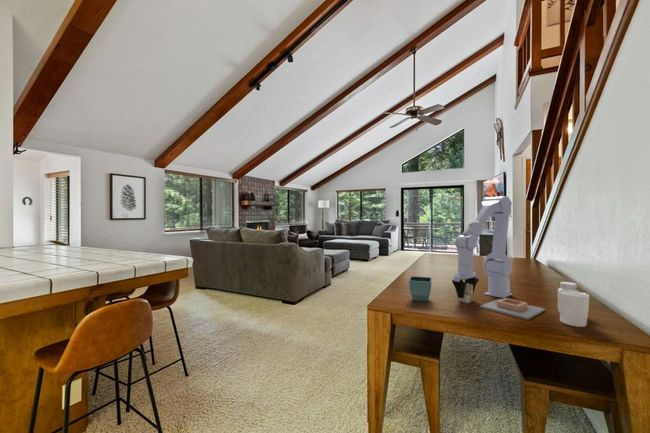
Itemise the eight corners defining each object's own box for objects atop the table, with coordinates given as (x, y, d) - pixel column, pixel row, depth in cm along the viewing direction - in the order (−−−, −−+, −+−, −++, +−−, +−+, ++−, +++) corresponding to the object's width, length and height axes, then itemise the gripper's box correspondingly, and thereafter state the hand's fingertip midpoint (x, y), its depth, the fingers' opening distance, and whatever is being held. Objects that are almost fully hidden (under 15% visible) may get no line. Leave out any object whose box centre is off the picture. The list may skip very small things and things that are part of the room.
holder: (498, 300, 122) (499, 293, 122) (544, 310, 109) (544, 303, 109) (480, 307, 112) (480, 300, 112) (527, 319, 99) (527, 311, 99)
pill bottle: (583, 316, 103) (583, 285, 103) (563, 315, 104) (564, 284, 104) (572, 310, 109) (572, 281, 109) (553, 309, 110) (554, 280, 110)
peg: (463, 298, 124) (463, 282, 124) (472, 301, 121) (472, 284, 121) (458, 300, 122) (458, 284, 122) (467, 303, 118) (467, 286, 118)
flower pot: (408, 301, 120) (408, 280, 120) (410, 296, 128) (410, 275, 128) (431, 304, 117) (431, 282, 117) (431, 298, 125) (431, 277, 125)
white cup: (551, 319, 100) (552, 290, 100) (572, 318, 101) (573, 289, 101) (573, 328, 92) (573, 297, 92) (595, 327, 93) (596, 296, 93)
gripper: (465, 260, 129) (465, 291, 129) (447, 264, 120) (446, 297, 120) (481, 263, 123) (481, 295, 123) (463, 266, 114) (463, 301, 114)
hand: (465, 296), depth 121 cm, fingers open, 7 cm apart
